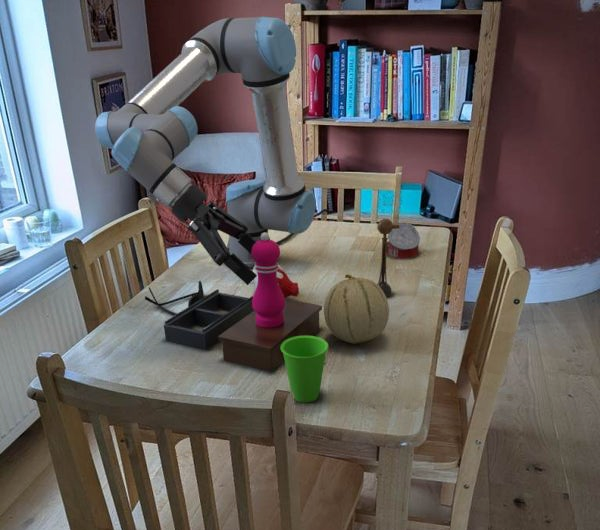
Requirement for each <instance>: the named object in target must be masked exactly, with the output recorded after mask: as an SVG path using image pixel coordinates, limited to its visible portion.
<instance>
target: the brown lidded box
mask: <svg viewBox="0 0 600 530" xmlns="http://www.w3.org/2000/svg"><path fill="white" fill-rule="evenodd" d="M322 310H323V305H320V304H316V303H309V302H306V301H305V302H304V301H300V300H295V299H288V298H285V307H284V309H283V310H282V313H283V314H284V322H283V324H281V325H280V326H277V327H272V328H265V327H260V326H258V325H257V324H256V320H255V315H256V312H255V311H253V312H252V313H250V314H249V315H247V316H246V317H245V318H243V319H242V320H240V321H239V322H238V323H236V324H235V325H233V326H232V327H231V328H229V329H228V330H226V331H225V332H224V333H222V334H221V335H219V336H218V340H219V342H221V347H222V358H223V361H224V362H228V363H232V364H235V365H236V364H237V365H240V366H245V367H249V368H254V369H256V370H257V369H258V370H262V371H265V372H271V373H272V372H273V371H274V370H275V369H276V368H278V367H279V366H280V365H281V364H282V363H283V362H285V359H284V355H283V352H282V351H281V349H280V348H281V344H282V343H283V342H284V341H285V340H287V339H289V338H292V337H296V336H314V335H315V334H316V333H317V332H318V331H320V312H321V311H322Z"/></svg>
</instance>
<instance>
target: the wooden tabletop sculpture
mask: <svg viewBox="0 0 600 530" xmlns="http://www.w3.org/2000/svg"><path fill="white" fill-rule="evenodd" d="M392 229H399V224H398V223H395V224H394V223H393V221H392V220H391V219H389V218H382V219H381V220H379V221H378V223H377V231H378V232H379V234H381V235H382V236H383V237H381V259H380V271H379V277H378V281H377V283H376V284H377V285H378V286H379V287H380V288H381V289H382V291H383V292H384V294H385V296H386V298H390V297H391V296H392V287H391V285H390V284H389V283H388V280H387V279H388V277H387V255H386V254H387V242H388V240H389V239H388V234H389V233H390V232H391V231H392Z"/></svg>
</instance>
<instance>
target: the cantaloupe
mask: <svg viewBox="0 0 600 530" xmlns="http://www.w3.org/2000/svg"><path fill="white" fill-rule="evenodd" d="M344 278H346V279H344V280H341V281H338V282H337V283H336V284H334V285H333V286H332V287H331V288H330V289H329V291H328V292H327V294H326V296H325V300H324V303H323V317H324V321H325V324H326V326H327V327H328V330H329V331H330V332H331V334H332V335H333V336H335V337H336V338H337V339H339V340H341V341H343V342H345V343H349V344H355V345H356V344H362V343H364V342H368V341H371V340H373V339H375V338H376V337H378V336H379V335H380V334H382V332H383V331H384V330H385V328H386V326H387V324H388V321H389V316H390V306H389V302H388V299H387V298H388V297H387V298H386V296H385V294H384V292H383V291H382V289H381V288H380V287H379V286H378V285H377V284H378V283H376V282H375V281H374V280H372V279H370V278H365V277H355V276H353V274H348V273H347V274H345V276H344Z"/></svg>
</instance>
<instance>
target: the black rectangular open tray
mask: <svg viewBox="0 0 600 530" xmlns="http://www.w3.org/2000/svg"><path fill="white" fill-rule="evenodd" d="M253 296H254V295H252V296H250V297H245V296H241V295H235V294H231V293H223V292H220V289H215V290H214V291H212V292H210V293H209V294H207V295H205V296H204V298H202V299H201V300H199V301H197V302H196V303H194V304H192V305H191V306H189V307H188V306H187V307H186V308H184V309H182V310H181V311H180V312H178V313H176V315H173V316H171V317H170V318H168V319H166V320H165V321H164V324H163V331H164V338H165V342H169V343H173V344H177V345H182V346H185V347H191V348H195V349H199V350H203V351H208V350H209V349H211V348H213V346H214V345H216V344H218V343H220V341H219V340H218V336H219V335H221V334H222V333H224V332H225V331H226V330H228V329H229V328H231V327H232V326H233V325H235V324H236V323H238V322H239V321H240V320H242V319H243V318H245V317H246V316H247V315H249V314H250V313H252V312H253V311H254V309H253V307H252V300H253ZM219 310H224V311H225V310H226V311H228V312H226V313H223V312H219ZM196 325H198V326H202V327H204V328H203V329H201V330H202V331H201V330H196V329H192V328H193V327H195V326H196Z"/></svg>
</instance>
